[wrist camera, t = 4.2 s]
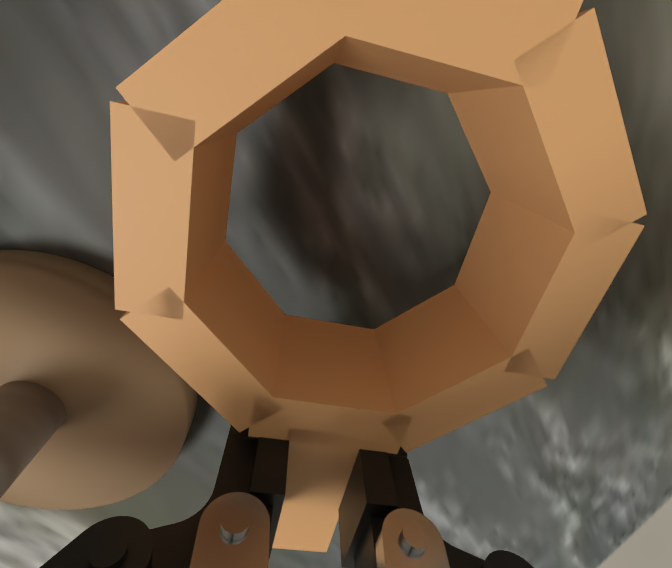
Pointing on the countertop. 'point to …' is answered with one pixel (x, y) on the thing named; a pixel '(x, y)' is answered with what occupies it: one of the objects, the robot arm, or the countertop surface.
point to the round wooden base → (79, 390)
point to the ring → (422, 320)
